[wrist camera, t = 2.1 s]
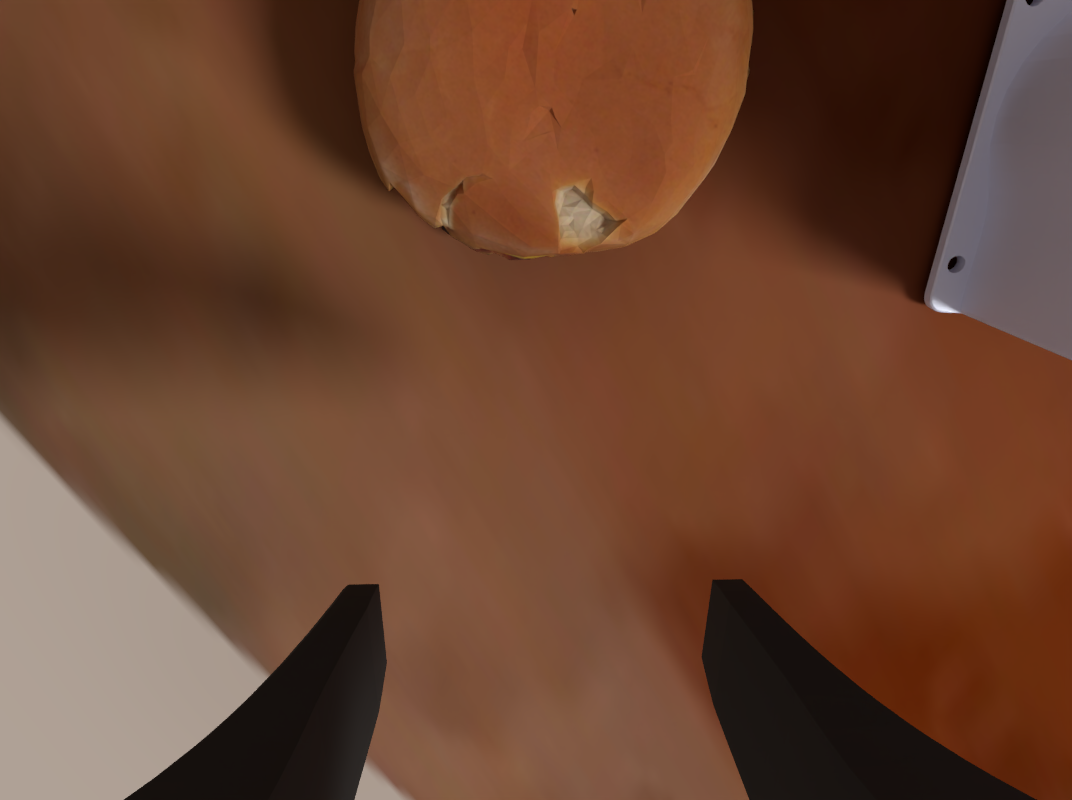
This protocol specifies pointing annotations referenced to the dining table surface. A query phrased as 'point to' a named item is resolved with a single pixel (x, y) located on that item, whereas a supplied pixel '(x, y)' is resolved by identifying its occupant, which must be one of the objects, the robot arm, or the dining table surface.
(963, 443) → the dining table surface
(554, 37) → the burger
